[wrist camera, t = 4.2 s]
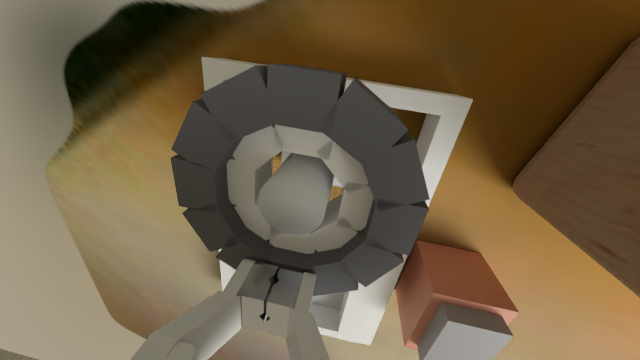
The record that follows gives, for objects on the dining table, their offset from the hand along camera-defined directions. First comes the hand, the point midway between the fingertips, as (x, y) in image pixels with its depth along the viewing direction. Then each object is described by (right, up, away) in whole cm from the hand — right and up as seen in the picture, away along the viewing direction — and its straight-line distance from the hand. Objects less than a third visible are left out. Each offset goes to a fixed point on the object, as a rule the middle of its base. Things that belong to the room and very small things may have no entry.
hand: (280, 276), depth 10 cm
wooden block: (+20, +6, +4) cm, 21 cm away
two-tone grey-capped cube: (+12, -4, +10) cm, 16 cm away
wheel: (+1, +4, +1) cm, 5 cm away
